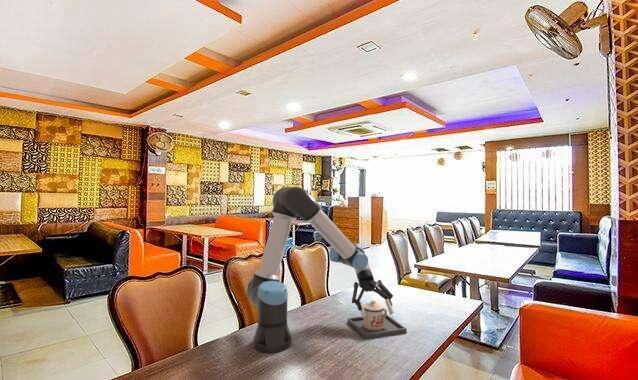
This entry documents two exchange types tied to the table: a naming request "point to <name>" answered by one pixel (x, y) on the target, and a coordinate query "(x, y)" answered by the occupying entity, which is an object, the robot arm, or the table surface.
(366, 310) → the teacup with lid
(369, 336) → the tea tray
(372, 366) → the table surface
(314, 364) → the table surface
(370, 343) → the table surface
